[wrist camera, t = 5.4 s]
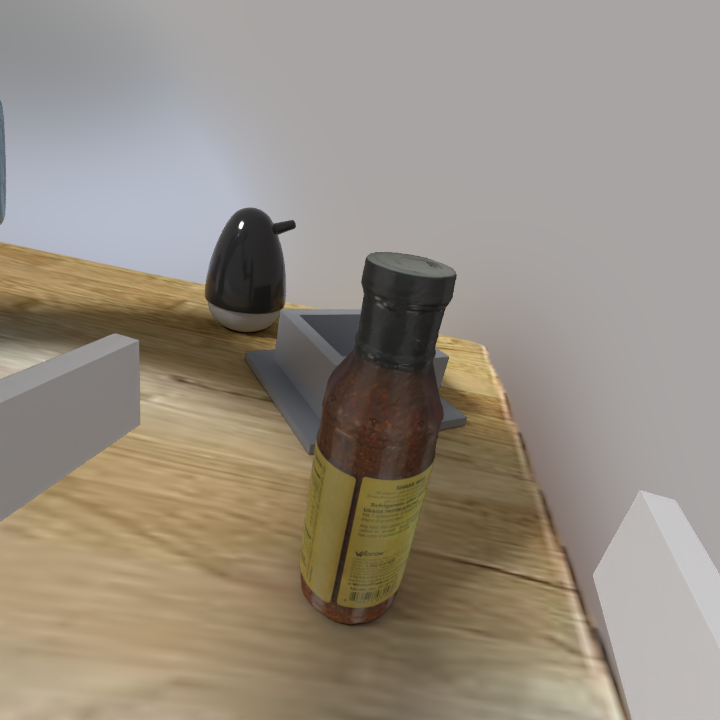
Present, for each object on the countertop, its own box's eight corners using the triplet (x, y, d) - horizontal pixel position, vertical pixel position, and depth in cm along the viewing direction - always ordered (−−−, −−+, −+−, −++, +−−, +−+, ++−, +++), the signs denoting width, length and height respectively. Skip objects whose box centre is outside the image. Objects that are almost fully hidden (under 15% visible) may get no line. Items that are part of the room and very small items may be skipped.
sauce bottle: (406, 565, 30) (503, 271, 22) (378, 651, 24) (494, 300, 16) (316, 527, 31) (374, 238, 23) (271, 599, 26) (326, 254, 18)
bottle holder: (308, 454, 38) (321, 382, 35) (244, 359, 52) (250, 301, 49) (464, 425, 48) (484, 366, 45) (375, 351, 61) (386, 302, 58)
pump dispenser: (289, 342, 58) (306, 222, 52) (204, 338, 55) (211, 209, 48) (276, 313, 67) (289, 207, 61) (202, 308, 63) (207, 194, 57)
